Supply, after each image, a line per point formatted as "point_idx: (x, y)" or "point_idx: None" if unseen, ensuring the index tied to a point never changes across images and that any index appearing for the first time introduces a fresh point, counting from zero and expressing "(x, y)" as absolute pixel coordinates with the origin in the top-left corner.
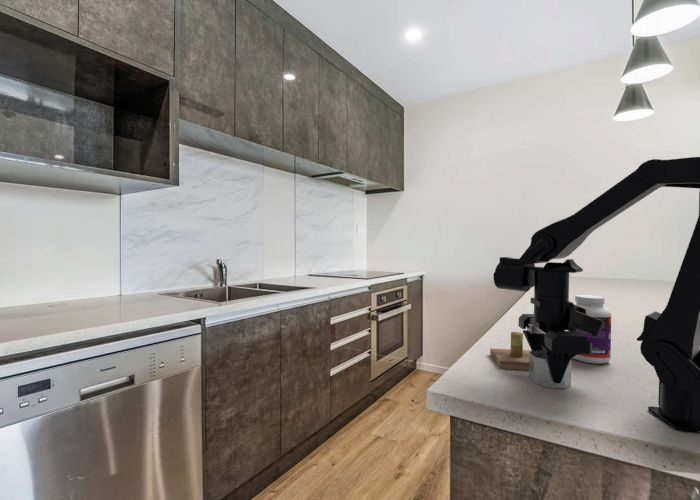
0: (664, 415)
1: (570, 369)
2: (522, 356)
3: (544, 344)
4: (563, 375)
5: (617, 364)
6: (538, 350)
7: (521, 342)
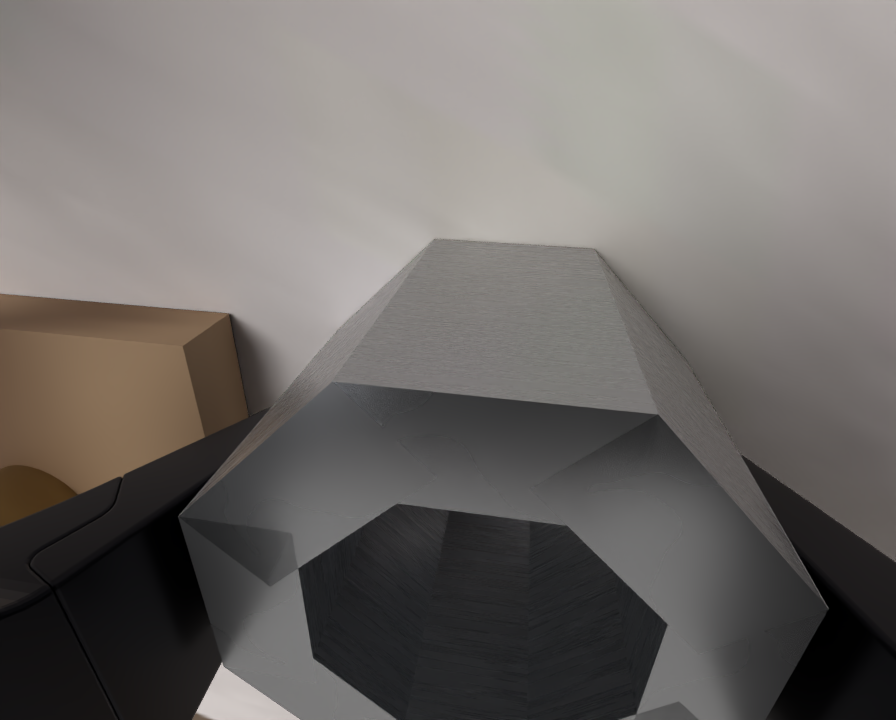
0: None
1: (636, 337)
2: (45, 474)
3: (96, 657)
4: (798, 497)
5: None
6: (250, 657)
7: None
